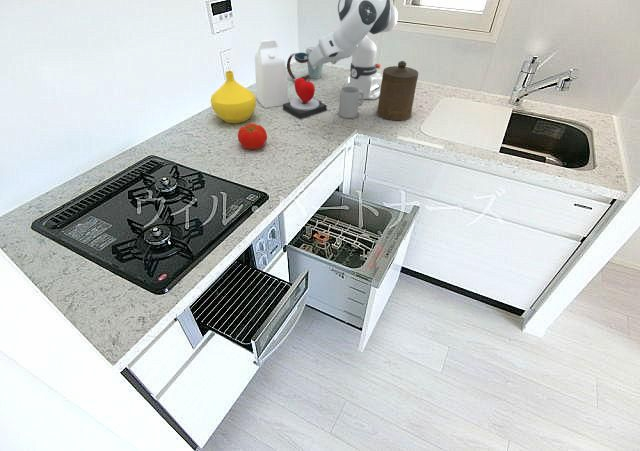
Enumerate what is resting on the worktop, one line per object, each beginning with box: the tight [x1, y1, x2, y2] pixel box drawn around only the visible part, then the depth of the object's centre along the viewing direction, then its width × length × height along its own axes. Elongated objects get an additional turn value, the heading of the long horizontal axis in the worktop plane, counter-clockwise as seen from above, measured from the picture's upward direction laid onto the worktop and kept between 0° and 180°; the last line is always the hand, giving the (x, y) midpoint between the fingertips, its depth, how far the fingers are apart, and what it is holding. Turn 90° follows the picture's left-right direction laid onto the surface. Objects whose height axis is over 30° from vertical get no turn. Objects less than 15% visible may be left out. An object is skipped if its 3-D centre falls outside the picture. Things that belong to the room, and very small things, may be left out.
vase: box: [210, 70, 257, 124], centre depth 139 cm, size 18×18×19 cm
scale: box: [282, 97, 328, 120], centre depth 152 cm, size 15×13×3 cm
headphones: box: [286, 52, 316, 82], centre depth 173 cm, size 6×15×22 cm
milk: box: [254, 39, 290, 109], centre depth 151 cm, size 12×12×26 cm
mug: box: [338, 85, 365, 119], centre depth 148 cm, size 12×8×11 cm
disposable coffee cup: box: [305, 46, 324, 80], centre depth 181 cm, size 11×11×15 cm
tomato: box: [237, 122, 268, 150], centre depth 125 cm, size 11×11×8 cm
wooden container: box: [377, 60, 419, 121], centre depth 145 cm, size 15×15×22 cm
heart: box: [294, 77, 316, 103], centre depth 148 cm, size 12×5×10 cm, turn 39°
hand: (323, 64), depth 132 cm, fingers open, 8 cm apart
